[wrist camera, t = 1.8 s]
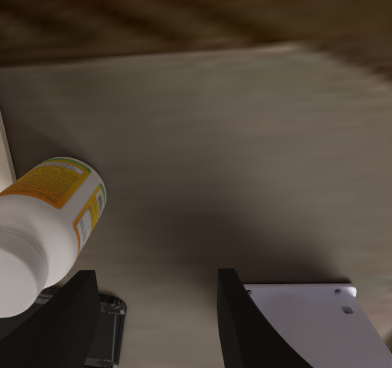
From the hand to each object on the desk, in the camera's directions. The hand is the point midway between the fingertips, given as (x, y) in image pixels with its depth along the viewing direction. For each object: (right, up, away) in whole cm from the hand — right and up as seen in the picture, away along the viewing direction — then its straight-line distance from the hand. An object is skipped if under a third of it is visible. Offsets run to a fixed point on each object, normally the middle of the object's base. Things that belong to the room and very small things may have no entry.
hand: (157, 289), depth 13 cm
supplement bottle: (-7, +4, +10) cm, 13 cm away
